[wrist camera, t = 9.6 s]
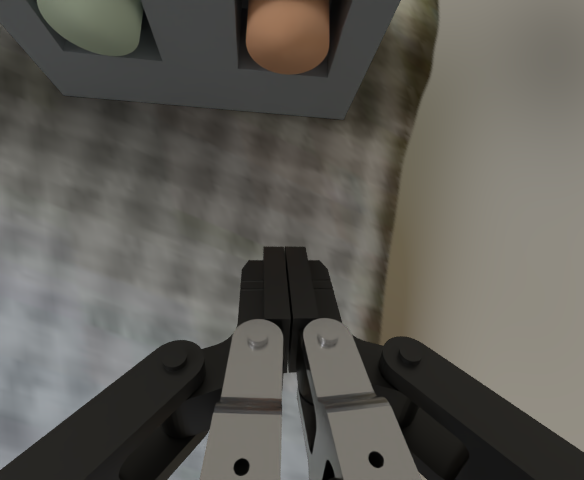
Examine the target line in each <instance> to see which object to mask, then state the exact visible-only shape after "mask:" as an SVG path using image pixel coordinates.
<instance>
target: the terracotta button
mask: <svg viewBox="0 0 584 480" xmlns="http://www.w3.org/2000/svg"><path fill="white" fill-rule="evenodd" d="M246 46H247V50H248V52H249V54H250V56H251V57H252V59H253V60H254V61H255V62H256V63H257V64H259V65H260V66H261V67H263V68H265V69H267V70H269V71H272V72H274V73H279V74H288V75H290V74H300V73H304V72H307V71H309V70H311V69H313V68H315V67H316V66H318V65H319V64H320V63H321V62H322V61H323V60H324V58H325V57H326V55H327V53H328V50H329V0H248V15H247V31H246Z"/></svg>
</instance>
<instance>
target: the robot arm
mask: <svg viewBox="0 0 584 480" xmlns="http://www.w3.org/2000/svg"><path fill="white" fill-rule="evenodd" d="M287 363H288V368H289V373H291V372H297V380H298V388H297V400H298V406H299V412H300V417H301V423H302V429H303V435H304V440H305V446H306V452H307V457H308V466H309V480H421V477H420V475H419V473H420V474H422V475H423V476H424V477H425V478H426V479H427V480H584V452H582V451H580V450H579V449H578V448H576V447H575V446H573V445H572V444H570V443H569V442H568V441H566V440H564V439H563V438H562V437H560V436H559V435H557V434H556V433H554V432H552V431H551V430H550V429H548V428H547V427H545V426H544V425H542V424H541V423H539V422H538V421H536V420H535V419H533V418H532V417H531V416H529V415H528V414H526V413H525V412H523V411H521V410H520V409H519V408H517V407H516V406H514V405H513V404H511V403H510V402H508V401H507V400H505V399H504V398H502V397H501V396H499V395H498V394H496V393H495V392H494V391H492V390H490V389H489V388H488V387H486V386H484V385H483V384H482V383H480V382H479V381H477V380H476V379H474V378H473V377H471V376H470V375H468V374H467V373H465V372H464V371H462V370H461V369H459V368H458V367H456V366H455V365H454V364H452V363H451V362H449V361H448V360H446V359H445V358H443V357H442V356H440V355H438V354H437V353H436V352H434V351H433V350H431V349H430V348H428V347H427V346H425V345H424V344H422V343H421V342H419V341H417V340H415V339H412V338H409V337H394V338H391V339H389V340H388V341H387V342H386V343H385V345H384V346H382V345H378V344H374V343H370V342H366V341H363V340H360V339H358V338H356V337H355V336H353V335H352V334H351V332H350V330H349V329H348V328H347V327H346V326H345V325H344V324H343V323H342V321H341V317H340V313H339V310H338V306H337V302H336V298H335V295H334V291H333V287H332V284H331V282H330V276H329V272H328V269H327V268H326V267H325V266H324V265H323V264H322V263H321V262H320V260H308V258H307V253H306V248H305V247H285V250H284V247H264V249H263V260H249V261H248V262H247V263H246V265H245V266H244V268H243V269H242V276H241V290H240V301H239V314H238V324H237V328H236V330H235V331H234V333H233V334H232V335H231V336H230V337H229V338H228V339H227V340H225V341H224V342H222V343H220V344H217V345H214V346H211V347H208V348H204V349H201V348H200V347H199V346H198V345H197V344H195V343H193V342H191V341H186V340H177V341H172V342H169V343H166V344H164V345H162V346H160V347H159V348H157V349H156V350H155V351H154V352H152V353H151V354H150V355H148V356H147V357H146V358H145V359H143V360H142V361H141V362H139V363H138V364H137V365H135V366H134V367H133V368H132V369H130V370H129V371H128V372H126V373H125V374H124V375H123V376H121V377H120V378H119V379H117V380H116V381H115V382H113V383H112V384H111V385H110V386H108V387H107V388H106V389H104V390H103V391H102V392H101V393H99V394H98V395H97V396H95V397H94V398H93V399H92V400H90V401H89V402H88V403H86V404H85V405H84V406H82V407H81V408H80V409H79V410H77V411H76V412H75V413H73V414H72V415H71V416H70V417H68V418H67V419H66V420H64V421H63V422H62V423H60V424H59V425H58V426H57V427H55V428H54V429H53V430H51V431H50V432H49V433H48V434H46V435H45V436H44V437H42V438H41V439H40V440H39V441H37V442H36V443H35V444H33V445H32V446H31V447H29V448H28V449H27V450H26V451H24V452H23V453H22V454H20V455H19V456H18V457H17V458H15V459H14V460H13V461H11V462H10V463H9V464H8V465H6V466H5V467H4V468H2V469H1V470H0V480H167V479H168V478H169V477H170V476H171V475H172V473H173V472H174V471H175V470H176V469H177V468H178V467H179V466H180V464H181V463H182V462H183V461H184V460H185V459H186V458H187V456H188V455H189V454H190V453H191V452H192V451H193V450H194V449H195V447H196V446H197V445H198V444H199V443H200V442H201V441H202V440H203V438H204V437H205V436H206V435H207V433H208V431H209V429H210V431H209V436H208V441H207V446H206V451H205V456H204V461H203V466H202V471H201V475H200V480H280V468H281V428H282V386H283V373H287Z"/></svg>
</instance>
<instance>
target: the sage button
mask: <svg viewBox="0 0 584 480" xmlns="http://www.w3.org/2000/svg"><path fill="white" fill-rule="evenodd" d="M37 5H38V8H39V10H40V13H41V14H42V16H43V18H44V19H45V20H46V22H47V23H48V24H49V25H50V26H51V27H52V28H53V29H54V30H55V31H56V32H57V33H58V34H60V35H61V36H62V37H64V38H65V39H67V40H68V41H70V42H71V43H73V44H75V45H77V46H79V47H81V48H83V49H85V50H88V51H90V52H93V53H97V54H101V55H106V56H123V55H127V54H129V53H131V52H133V51H134V50H135V49H136V48H137V46H138V44H139V39H140V32H141V24H142V17H143V10H144V8H143V5H142V2H141V0H37Z"/></svg>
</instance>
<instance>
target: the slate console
mask: <svg viewBox="0 0 584 480" xmlns="http://www.w3.org/2000/svg"><path fill="white" fill-rule="evenodd" d="M400 1H401V0H329V50H328V53H327V55H326V57H325V58H324V60H323V61H322V62H321V63H320V64H319V65H318V66H316V67H315V68H313V69H311V70H309V71H307V72H304V73H300V74H290V75H288V74H279V73H274V72H272V71H269V70H267V69H265V68H263V67H261V66H260V65H259V64H257V63H256V62H255V61H254V60H253V59H252V57H251V56H250V54H249V52H248V50H247V46H246V31H247V15H248V0H141V2H142V5H143V8H144V10H143V17H142V24H141V32H140V39H139V44H138V46H137V48H136V49H135V50H134V51H133V52H131V53H129V54H127V55H123V56H106V55H101V54H97V53H93V52H90V51H88V50H85V49H83V48H81V47H79V46H77V45H75V44H73V43H71V42H70V41H68V40H67V39H65V38H64V37H62V36H61V35H60V34H58V33H57V32H56V31H55V30H54V29H53V28H52V27H51V26H50V25H49V24H48V23H47V22H46V20H45V19H44V18H43V16H42V14H41V13H40V10H39V8H38V5H37V0H0V23H1V24H2V25H3V26H4V28H5V29H6V30H7V31H8V32H9V33H10V35H11V36H12V37H13V38H14V39H15V40H16V41H17V43H18V44H19V45H20V46H21V47H22V48H23V49H24V51H25V52H26V53H27V54H28V55H29V56H30V57H31V59H32V60H33V61H34V62H35V63H36V64H37V65H38V67H39V68H40V69H41V70H42V71H43V72H44V73H45V75H46V76H47V77H48V78H49V79H50V80H51V82H52V83H53V84H54V85H55V86H56V87H57V88H58V90H59V91H60V92H61V93H62V94H63V95H64V96H76V97H87V98H99V99H110V100H122V101H134V102H145V103H157V104H168V105H180V106H191V107H203V108H214V109H226V110H237V111H249V112H261V113H272V114H284V115H295V116H307V117H318V118H330V119H341V120H344V118H345V115H346V113H347V111H348V109H349V107H350V105H351V103H352V101H353V99H354V97H355V95H356V93H357V90H358V88H359V86H360V84H361V82H362V80H363V78H364V76H365V74H366V72H367V70H368V68H369V65H370V63H371V61H372V59H373V57H374V55H375V53H376V51H377V49H378V47H379V45H380V42H381V40H382V38H383V36H384V34H385V32H386V30H387V28H388V26H389V24H390V22H391V20H392V17H393V15H394V13H395V11H396V9H397V7H398V5H399V3H400Z"/></svg>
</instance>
